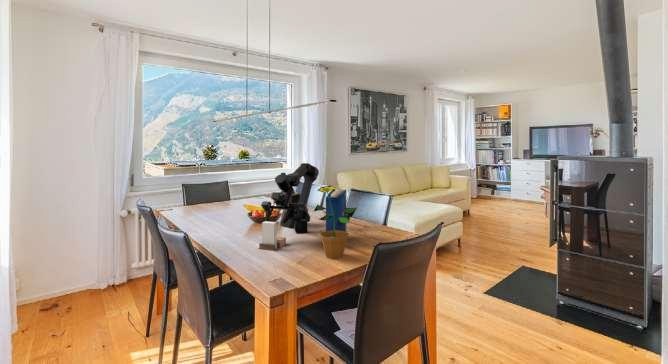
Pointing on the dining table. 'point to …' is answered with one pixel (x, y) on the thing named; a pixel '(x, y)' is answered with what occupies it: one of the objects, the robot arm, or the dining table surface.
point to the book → (336, 209)
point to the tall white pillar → (269, 233)
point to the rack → (269, 246)
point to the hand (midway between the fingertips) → (274, 222)
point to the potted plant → (334, 238)
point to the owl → (290, 222)
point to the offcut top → (281, 239)
